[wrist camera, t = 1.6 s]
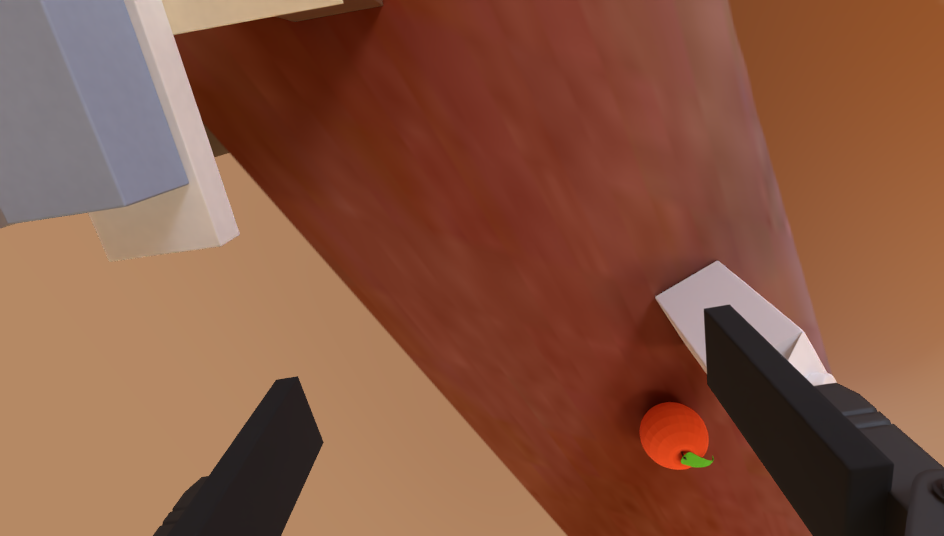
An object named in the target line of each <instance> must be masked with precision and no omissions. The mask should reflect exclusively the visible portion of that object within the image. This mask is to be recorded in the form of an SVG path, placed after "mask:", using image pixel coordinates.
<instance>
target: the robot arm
mask: <svg viewBox="0 0 944 536" xmlns="http://www.w3.org/2000/svg"><path fill="white" fill-rule="evenodd" d="M704 326H705V346H706V365H707V384H708V386H709V387H710V389H711V390H712V392H713V393H714V394H715V396H716V397H717V399H718V400H719V402H720V403H721V404H722V406H723V407H724V409H725V410H726V412H727V413H728V414H729V416H730V417H731V419H732V420H733V422H734V423H735V425H736V426H737V427H738V429H739V430H740V432H741V433H742V435H743V436H744V437H745V439H746V440H747V442H748V443H749V445H750V446H751V448H752V449H753V450H754V452H755V453H756V455H757V456H758V458H759V459H760V460H761V462H762V463H763V465H764V466H765V468H766V469H767V470H768V472H769V473H770V475H771V476H772V478H773V479H774V481H775V482H776V483H777V485H778V486H779V488H780V489H781V491H782V492H783V493H784V495H785V496H786V498H787V499H788V501H789V502H790V504H791V505H792V506H793V508H794V509H795V511H796V512H797V514H798V515H799V516H800V518H801V519H802V521H803V522H804V524H805V525H806V526H807V528H808V529H809V531H810V532H811V534H812V535H813V536H944V467H943V466H942V465H940V464H939V463H938V462H937V461H936V460H935V459H933V458H932V457H931V456H930V455H929V454H928V453H927V452H925V451H924V450H923V449H922V448H921V447H920V446H918V445H917V444H916V443H915V442H914V441H913V440H912V439H910V438H909V437H908V436H907V435H906V434H905V433H903V432H902V431H901V430H900V429H899V428H898V427H897V426H895V425H894V424H891V422H890V420H889V419H887V418H886V417H885V416H884V415H883V414H882V413H881V412H877V410H876V408H875V407H874V406H873V405H871V404H870V403H869V402H868V401H867V400H866V399H865V398H863V397H862V396H861V395H860V394H858V393H856V392H854V391H852V390H850V389H848V388H846V387H844V386H842V385H840V384H838V383H830V384H823V385H816V386H813V385H812V384H811V383H810V382H809V381H808V380H807V379H806V378H805V377H804V376H803V375H802V374H801V373H800V372H799V371H798V370H797V369H796V368H795V367H794V366H793V365H792V364H791V363H790V362H789V361H788V360H787V359H786V358H784V357H783V356H782V355H781V354H780V353H779V352H778V351H777V350H776V349H775V348H774V347H773V346H772V345H771V344H770V343H769V342H768V341H767V340H766V339H765V338H764V337H763V336H762V335H761V334H760V333H759V332H758V331H757V330H756V329H755V328H753V327H752V326H751V325H750V324H749V323H748V322H747V321H746V320H745V319H744V318H743V317H742V316H741V315H740V314H739V313H738V312H737V311H736V310H735V309H734V308H733V307H732V306H731V305H730V304H729V305H723V306H717V307H711V308H705V309H704ZM322 444H323V440H322V437H321V435H320V432H319V430H318V427H317V424H316V422H315V419H314V417H313V415H312V412H311V409H310V407H309V404H308V401H307V399H306V396H305V394H304V391H303V389H302V386H301V383H300V381H299V378H298V377H292V378H285V379H279V380H276V381H275V382H274V384H273V385H272V387H271V388H270V390H269V391H268V392H267V394H266V395H265V397H264V398H263V400H262V401H261V403H260V404H259V405H258V407H257V408H256V410H255V411H254V412H253V414H252V415H251V417H250V418H249V419H248V421H247V422H246V424H245V425H244V427H243V428H242V429H241V431H240V432H239V434H238V435H237V436H236V438H235V439H234V441H233V442H232V444H231V445H230V447H229V448H228V450H227V451H226V452H225V454H224V455H223V456H222V458H221V459H220V461H219V462H218V464H217V465H216V467H215V468H214V469H213V471H212V472H211V474H210V475H209V476H206V477H201V478H200V479H199V480H198V481H197V482H196V483H195V484H193V485H192V486H191V487H190V488H189V489H188V490H187V491H186V492H185V493H184V494H183V495H182V497H181V498H180V499H179V501H178V502H177V504H176V505H175V506H174V508H173V511H172V512H170V513H169V514H168V516H167V517H166V518H165V520H164V521H163V525H162V526H160V527H159V528H158V529H157V531H156V532H155V534H154V535H153V536H281V534H282V532H283V530H284V528H285V525H286V523H287V521H288V519H289V517H290V515H291V512H292V510H293V508H294V506H295V504H296V501H297V499H298V497H299V495H300V493H301V490H302V488H303V486H304V484H305V482H306V479H307V477H308V475H309V473H310V471H311V468H312V466H313V464H314V461H315V460H316V457H317V455H318V453H319V451H320V449H321V446H322Z"/></svg>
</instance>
